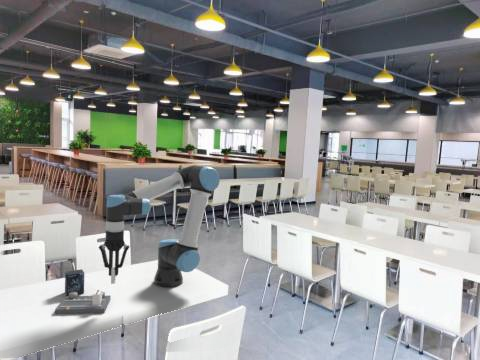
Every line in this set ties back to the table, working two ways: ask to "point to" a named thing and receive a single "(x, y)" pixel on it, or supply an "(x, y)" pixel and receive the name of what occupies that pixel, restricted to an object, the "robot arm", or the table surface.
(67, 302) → the console
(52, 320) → the table surface
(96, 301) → the block
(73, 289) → the box
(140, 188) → the robot arm
